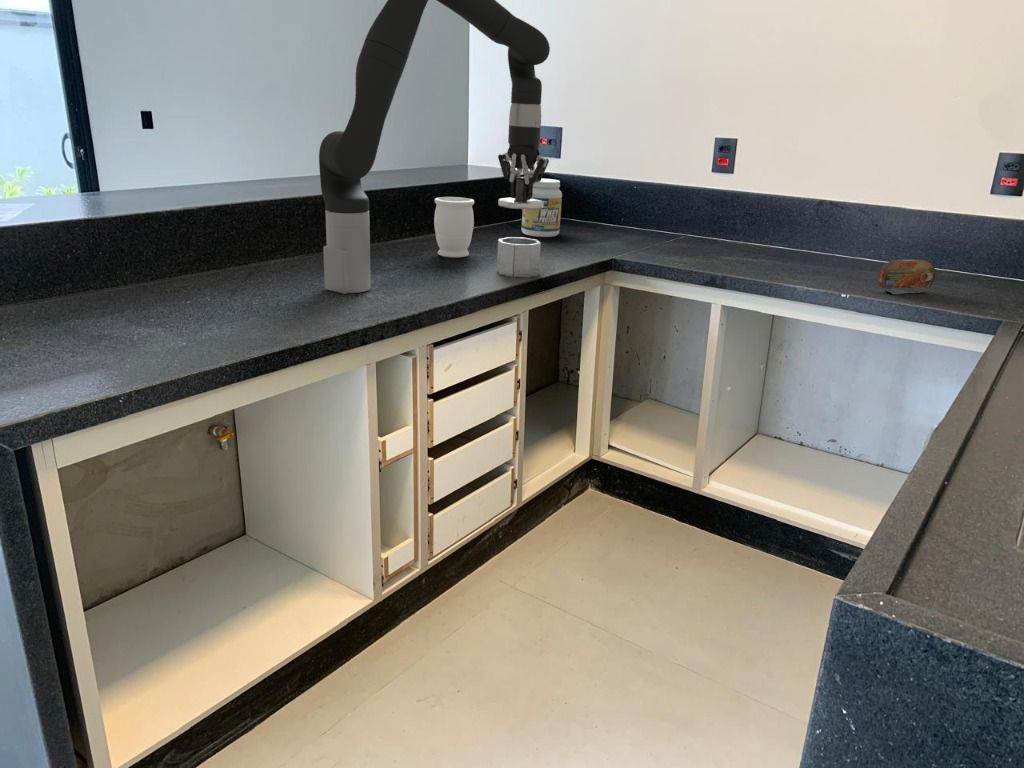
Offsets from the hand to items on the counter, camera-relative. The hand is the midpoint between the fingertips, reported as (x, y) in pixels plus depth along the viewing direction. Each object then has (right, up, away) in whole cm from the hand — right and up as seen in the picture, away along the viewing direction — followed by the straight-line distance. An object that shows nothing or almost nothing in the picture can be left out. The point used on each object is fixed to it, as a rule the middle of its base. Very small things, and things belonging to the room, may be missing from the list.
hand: (521, 198), depth 192 cm
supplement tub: (+7, +3, +60) cm, 61 cm away
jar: (-18, -10, +24) cm, 32 cm away
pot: (-1, -17, +6) cm, 18 cm away
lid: (0, -2, +1) cm, 2 cm away
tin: (+96, -22, +6) cm, 98 cm away
